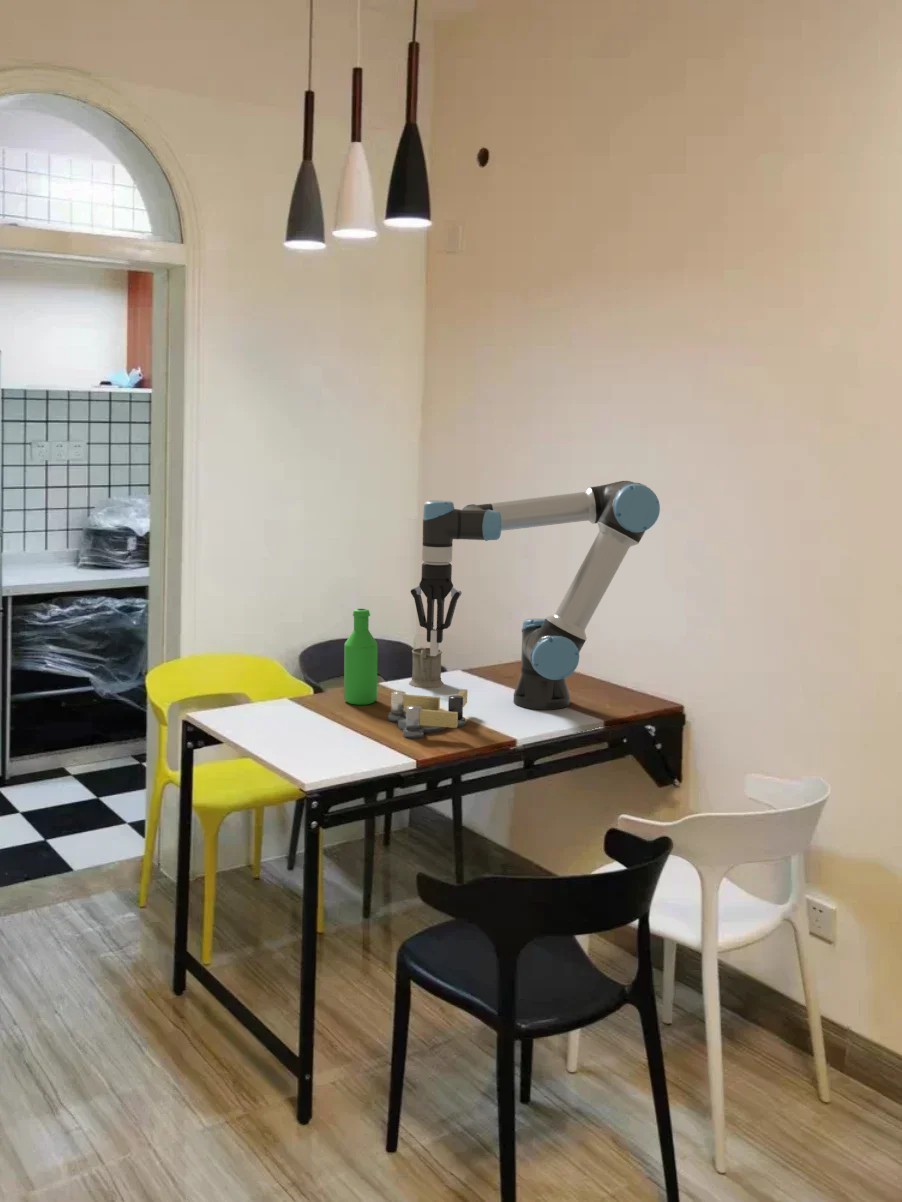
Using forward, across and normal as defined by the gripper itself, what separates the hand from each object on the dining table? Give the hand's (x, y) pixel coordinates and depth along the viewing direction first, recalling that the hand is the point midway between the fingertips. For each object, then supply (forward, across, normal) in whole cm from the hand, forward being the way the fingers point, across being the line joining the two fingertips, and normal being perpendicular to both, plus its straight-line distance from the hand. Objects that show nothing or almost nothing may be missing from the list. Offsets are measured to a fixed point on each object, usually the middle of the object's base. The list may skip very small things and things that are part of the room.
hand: (434, 654), depth 287 cm
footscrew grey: (+14, -4, +19) cm, 24 cm away
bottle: (+16, +22, -8) cm, 29 cm away
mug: (+16, +10, -31) cm, 36 cm away
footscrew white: (+15, +3, +6) cm, 16 cm away
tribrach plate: (+16, 0, +12) cm, 20 cm away
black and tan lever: (+14, -7, +1) cm, 16 cm away
